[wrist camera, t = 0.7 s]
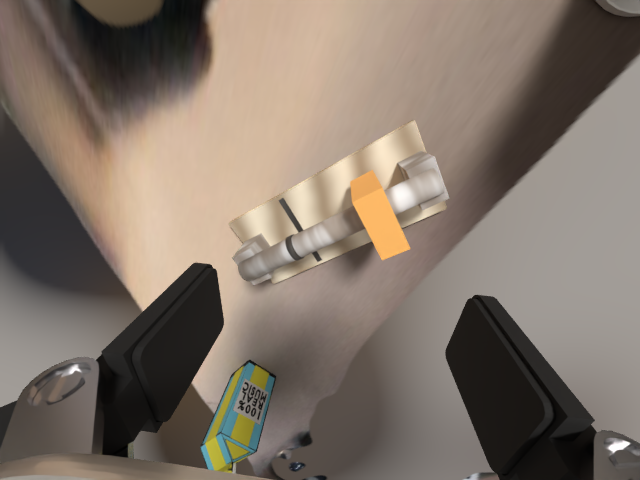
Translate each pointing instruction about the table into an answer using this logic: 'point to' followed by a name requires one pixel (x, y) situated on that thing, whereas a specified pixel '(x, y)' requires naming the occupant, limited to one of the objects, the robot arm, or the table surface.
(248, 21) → the table surface
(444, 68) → the table surface
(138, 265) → the table surface
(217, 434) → the carton
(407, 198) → the pipe rig
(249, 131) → the table surface
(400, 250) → the collar
